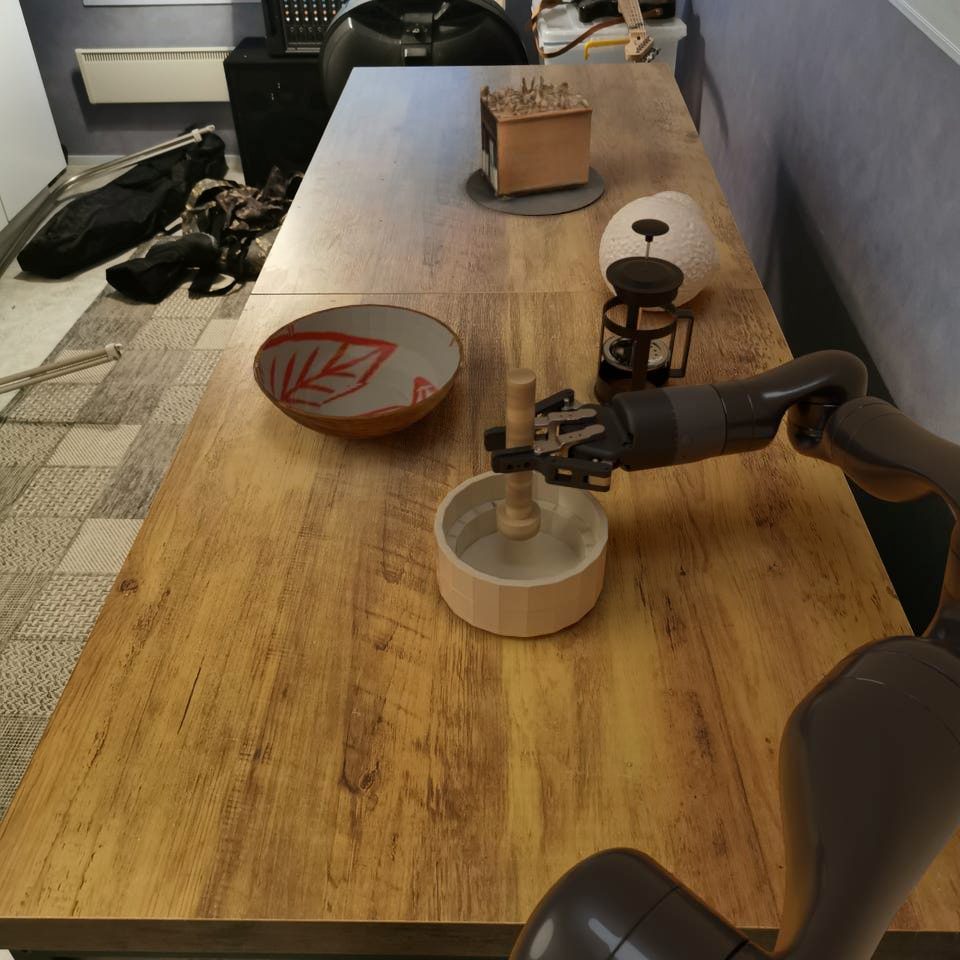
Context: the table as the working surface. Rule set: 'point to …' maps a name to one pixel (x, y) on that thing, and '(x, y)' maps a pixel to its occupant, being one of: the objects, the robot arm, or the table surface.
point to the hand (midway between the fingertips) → (488, 451)
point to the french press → (632, 347)
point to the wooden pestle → (518, 509)
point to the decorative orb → (665, 240)
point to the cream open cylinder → (520, 557)
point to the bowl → (359, 368)
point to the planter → (535, 151)
